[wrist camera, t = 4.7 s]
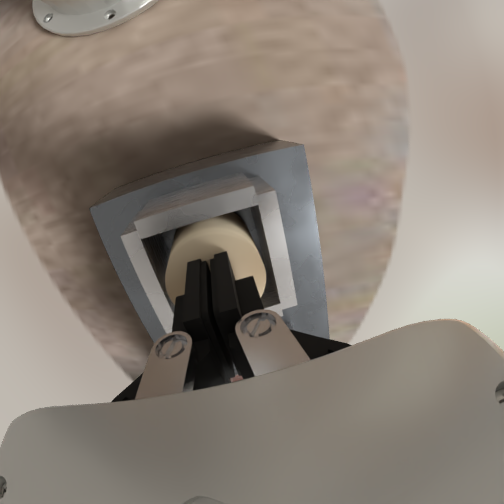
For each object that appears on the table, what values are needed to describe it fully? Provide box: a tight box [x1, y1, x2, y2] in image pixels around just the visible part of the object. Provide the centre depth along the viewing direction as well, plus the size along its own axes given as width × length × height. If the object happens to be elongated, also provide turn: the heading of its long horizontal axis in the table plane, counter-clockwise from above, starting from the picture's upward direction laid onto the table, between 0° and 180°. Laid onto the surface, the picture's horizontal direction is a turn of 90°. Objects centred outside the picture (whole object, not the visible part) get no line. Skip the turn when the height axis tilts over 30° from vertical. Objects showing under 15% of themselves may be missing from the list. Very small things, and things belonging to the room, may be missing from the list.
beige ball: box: [165, 212, 266, 305], centre depth 13 cm, size 4×4×4 cm
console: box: [89, 140, 329, 382], centre depth 18 cm, size 18×12×9 cm, turn 13°
